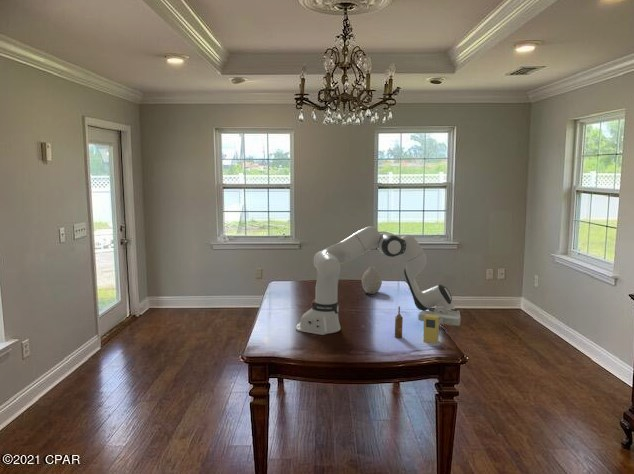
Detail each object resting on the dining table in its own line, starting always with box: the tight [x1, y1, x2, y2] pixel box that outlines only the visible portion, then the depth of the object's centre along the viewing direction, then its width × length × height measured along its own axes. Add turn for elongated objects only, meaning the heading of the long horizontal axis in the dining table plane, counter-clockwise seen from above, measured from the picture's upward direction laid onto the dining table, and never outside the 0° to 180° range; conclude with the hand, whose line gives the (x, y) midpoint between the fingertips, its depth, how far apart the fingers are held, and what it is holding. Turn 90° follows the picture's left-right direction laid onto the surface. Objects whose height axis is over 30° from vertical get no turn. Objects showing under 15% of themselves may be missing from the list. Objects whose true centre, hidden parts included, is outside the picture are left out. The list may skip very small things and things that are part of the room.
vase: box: [361, 266, 383, 295], centre depth 309 cm, size 13×13×17 cm
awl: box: [394, 306, 404, 339], centre depth 225 cm, size 3×3×15 cm
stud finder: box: [422, 314, 440, 344], centre depth 220 cm, size 4×6×12 cm
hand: (436, 322), depth 230 cm, fingers closed
